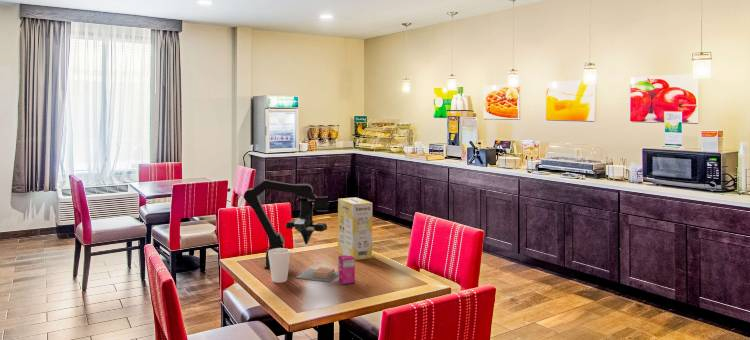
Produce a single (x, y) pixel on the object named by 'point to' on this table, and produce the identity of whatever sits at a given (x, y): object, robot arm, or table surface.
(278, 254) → the foam cup
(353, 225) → the pasta box
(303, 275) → the mat
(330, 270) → the tile
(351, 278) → the supplement box
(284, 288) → the table surface
